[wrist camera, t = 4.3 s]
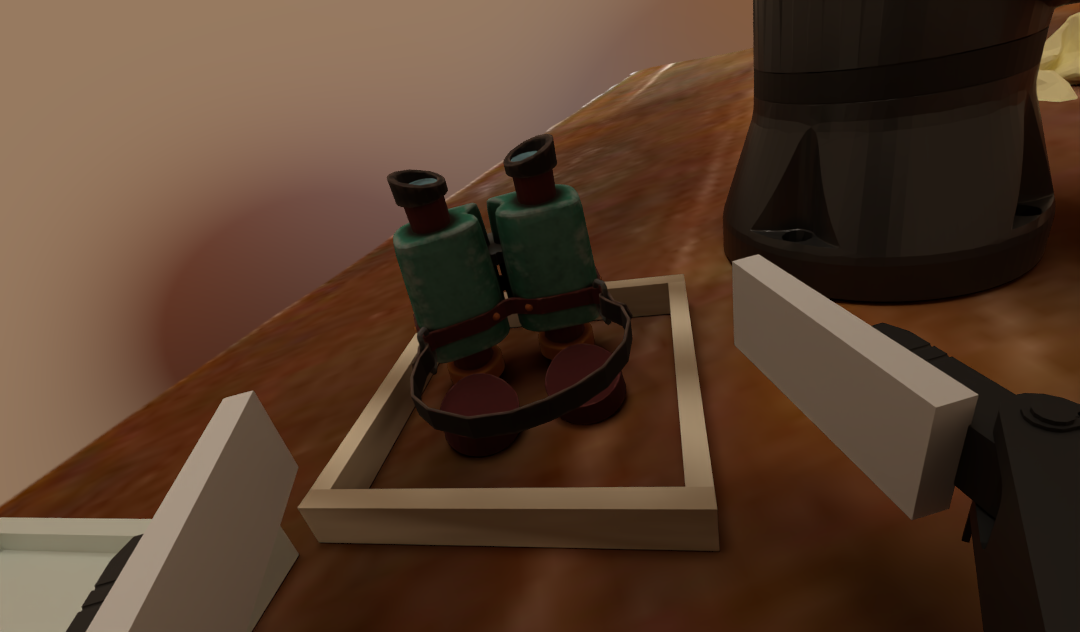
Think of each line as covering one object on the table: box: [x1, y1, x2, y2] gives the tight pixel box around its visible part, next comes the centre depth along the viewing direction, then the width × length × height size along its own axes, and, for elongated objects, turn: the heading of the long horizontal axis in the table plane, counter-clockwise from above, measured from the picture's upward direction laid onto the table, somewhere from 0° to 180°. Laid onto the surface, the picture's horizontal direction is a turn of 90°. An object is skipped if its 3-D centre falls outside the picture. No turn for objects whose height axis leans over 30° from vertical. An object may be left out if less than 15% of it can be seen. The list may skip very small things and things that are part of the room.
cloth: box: [1037, 12, 1080, 102], centre depth 48 cm, size 22×19×6 cm
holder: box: [298, 274, 720, 551], centre depth 23 cm, size 15×14×2 cm
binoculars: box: [387, 134, 633, 457], centre depth 21 cm, size 9×11×10 cm
